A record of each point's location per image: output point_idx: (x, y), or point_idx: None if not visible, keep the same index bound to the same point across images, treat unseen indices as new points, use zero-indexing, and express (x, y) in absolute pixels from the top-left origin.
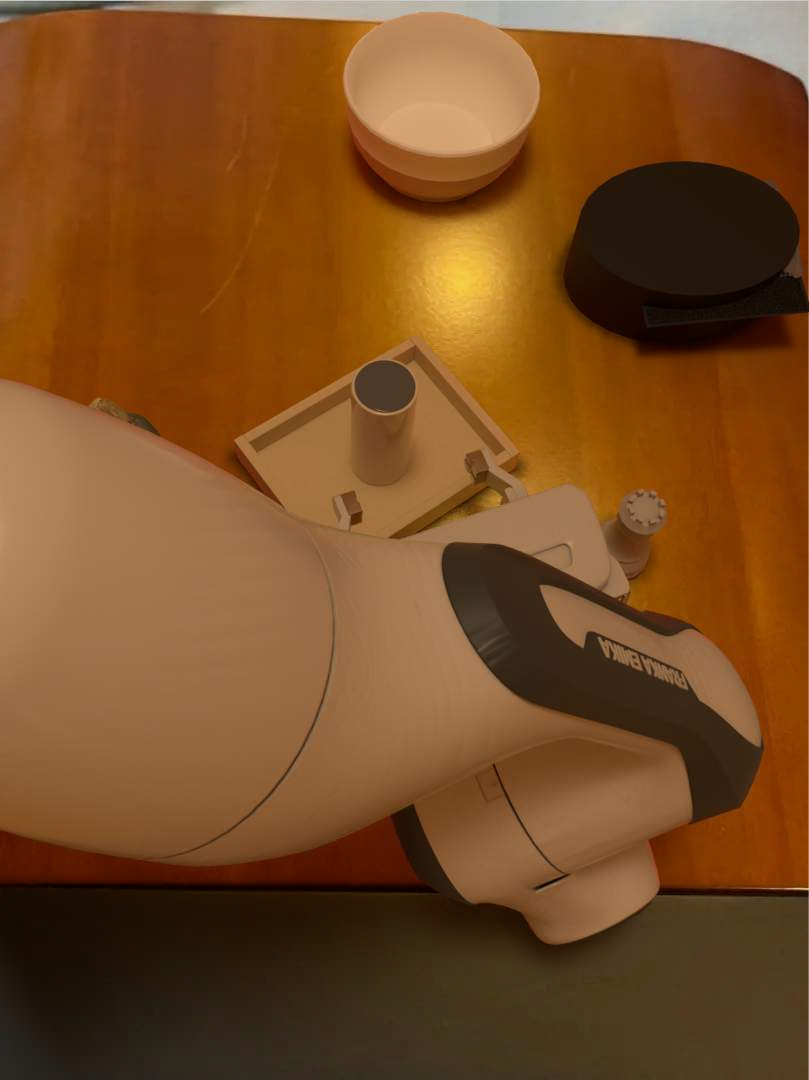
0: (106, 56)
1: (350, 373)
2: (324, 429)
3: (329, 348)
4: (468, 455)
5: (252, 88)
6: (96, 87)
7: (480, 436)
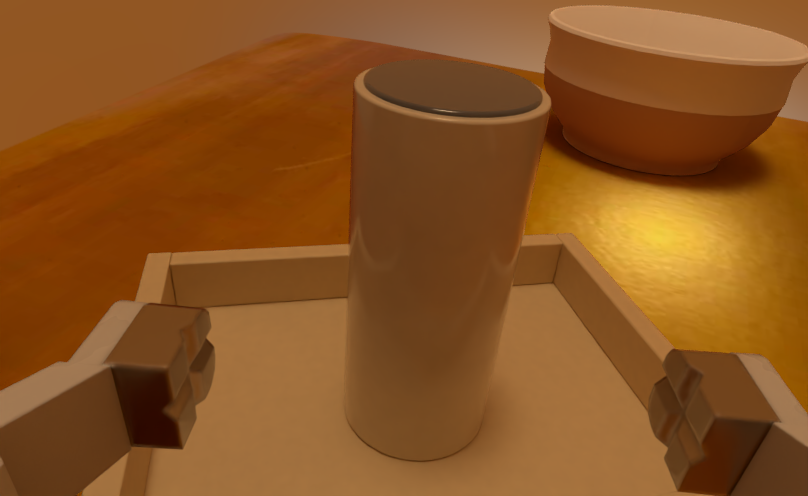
0: (344, 49)
1: None
2: (337, 318)
3: None
4: (681, 351)
5: None
6: (321, 56)
7: None
